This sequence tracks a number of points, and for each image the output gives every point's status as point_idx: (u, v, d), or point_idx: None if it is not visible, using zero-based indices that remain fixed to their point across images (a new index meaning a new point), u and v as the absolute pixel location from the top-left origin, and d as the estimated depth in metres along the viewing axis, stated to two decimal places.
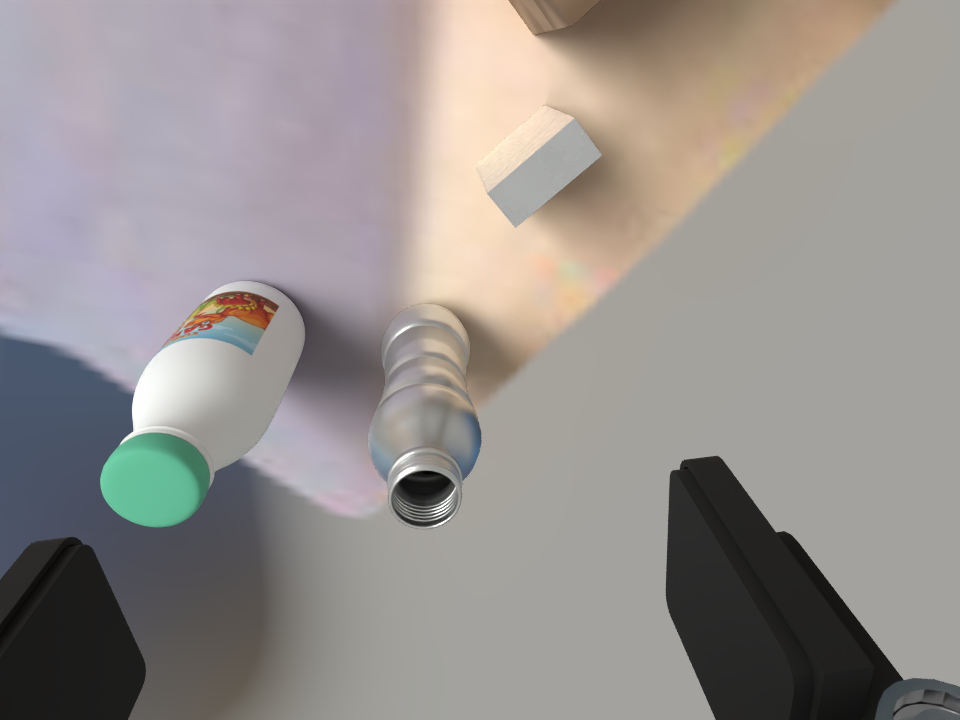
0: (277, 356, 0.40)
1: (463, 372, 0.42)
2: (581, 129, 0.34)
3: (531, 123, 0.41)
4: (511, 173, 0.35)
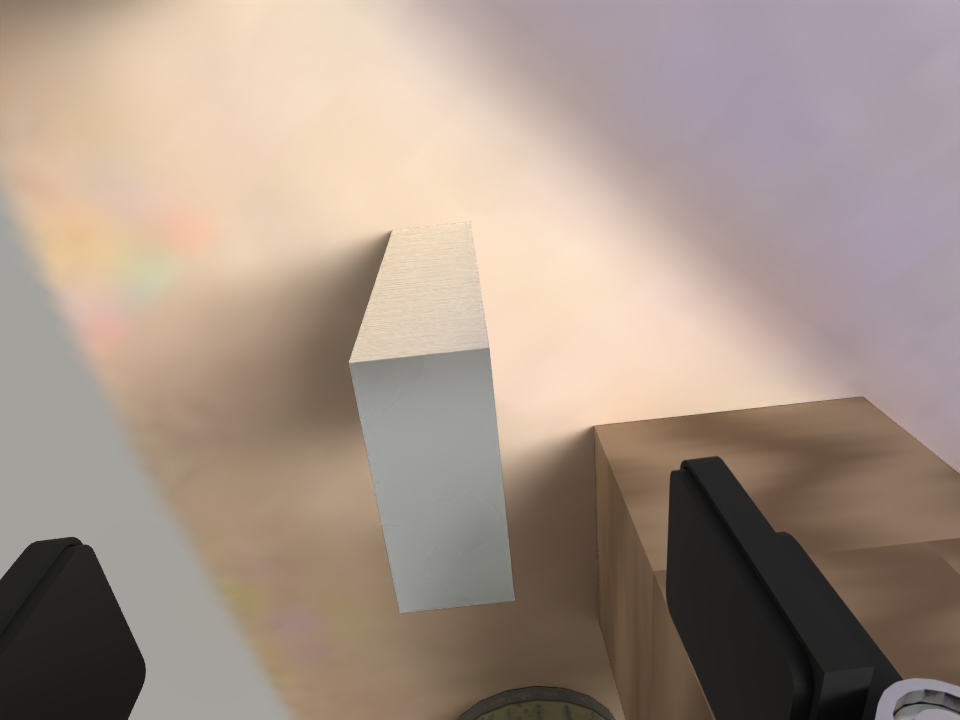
0: None
1: None
2: (482, 601, 0.14)
3: None
4: (493, 427, 0.12)
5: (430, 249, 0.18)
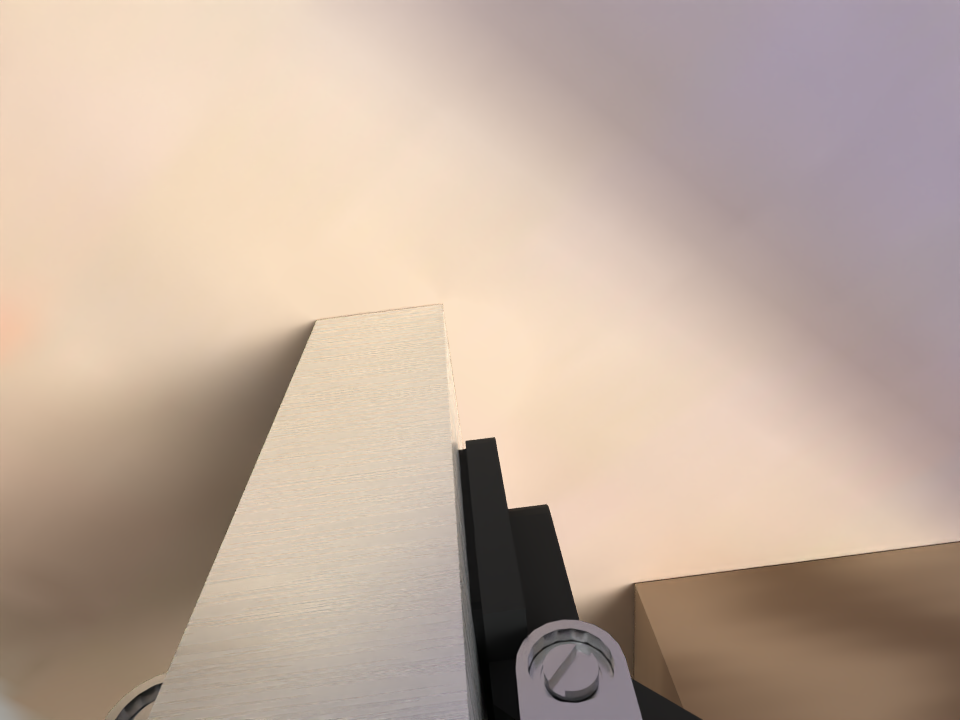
0: None
1: None
2: None
3: None
4: None
5: (369, 376, 0.10)
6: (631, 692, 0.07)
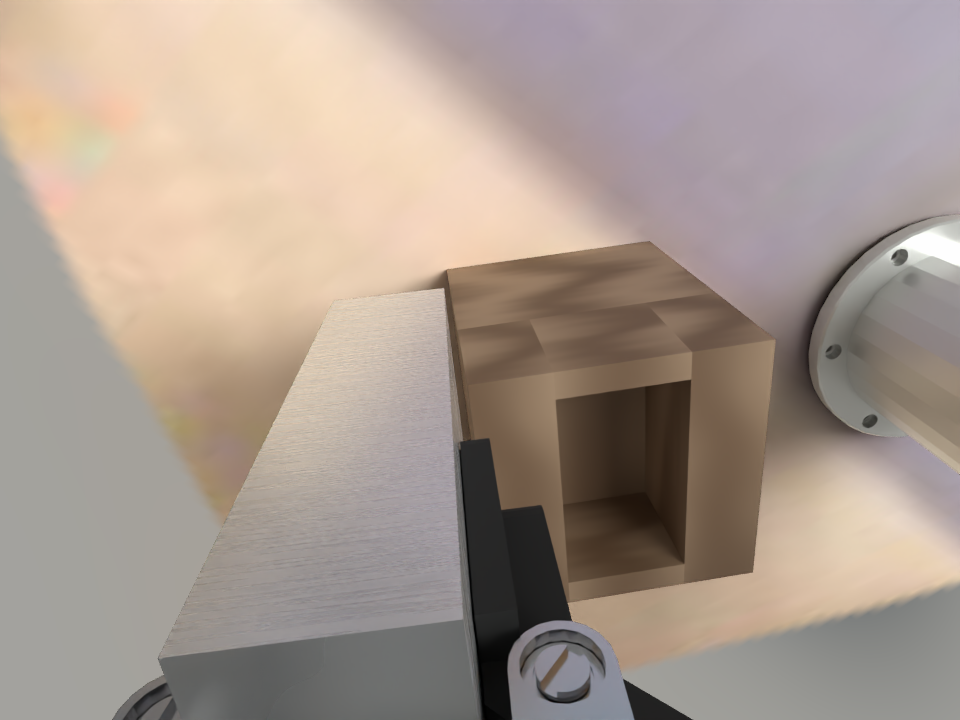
0: None
1: None
2: None
3: None
4: None
5: (380, 338, 0.12)
6: (623, 692, 0.07)
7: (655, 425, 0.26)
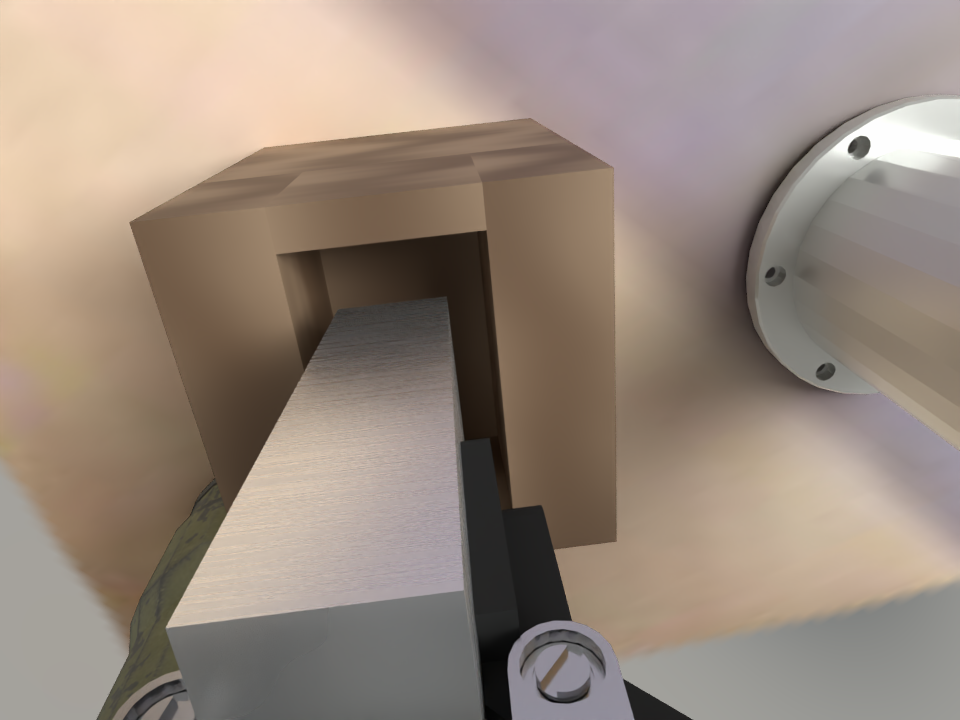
0: None
1: None
2: None
3: None
4: None
5: (384, 342, 0.12)
6: (623, 692, 0.07)
7: (489, 333, 0.18)
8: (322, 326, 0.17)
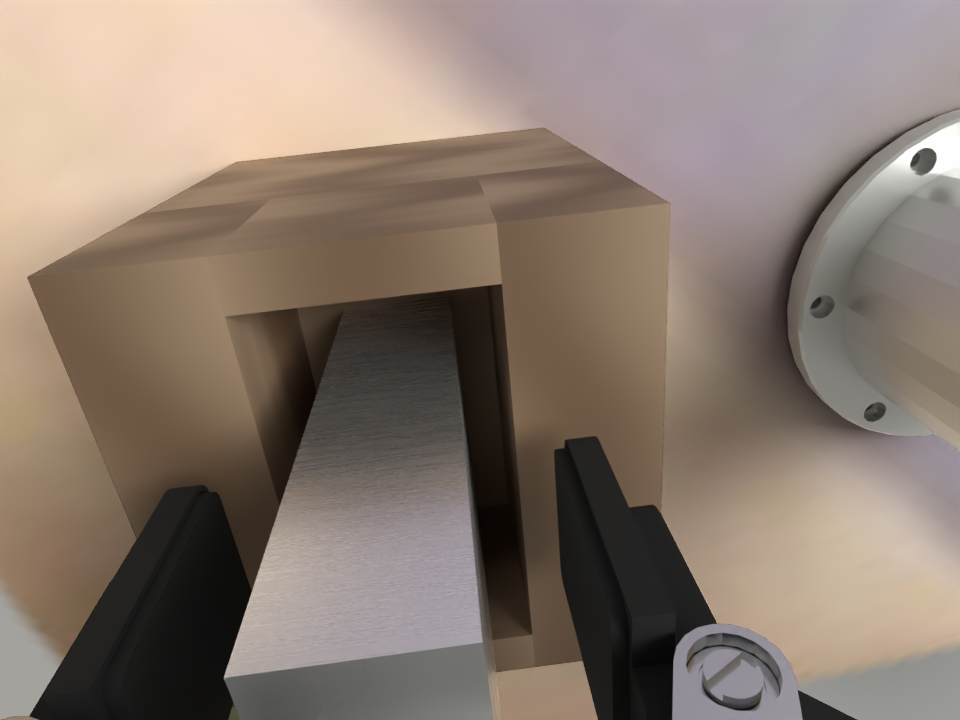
0: None
1: None
2: None
3: None
4: None
5: (392, 353, 0.13)
6: (798, 715, 0.06)
7: (500, 393, 0.15)
8: (295, 388, 0.14)
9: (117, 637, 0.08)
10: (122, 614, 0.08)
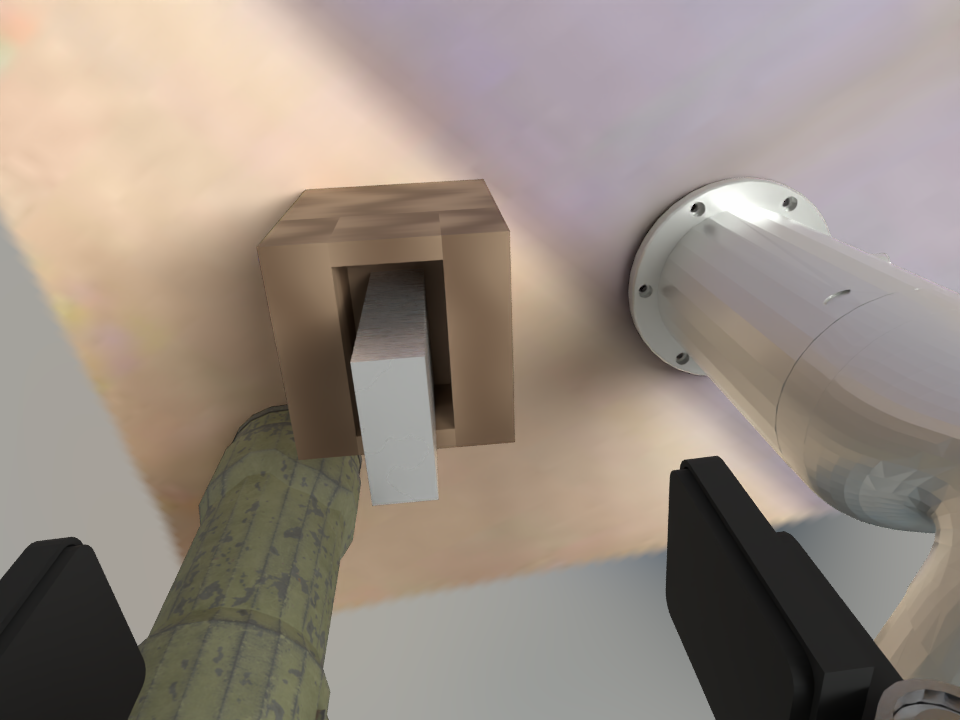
0: None
1: None
2: (419, 499, 0.24)
3: None
4: (426, 399, 0.23)
5: (395, 290, 0.28)
6: None
7: None
8: (347, 308, 0.30)
9: None
10: None
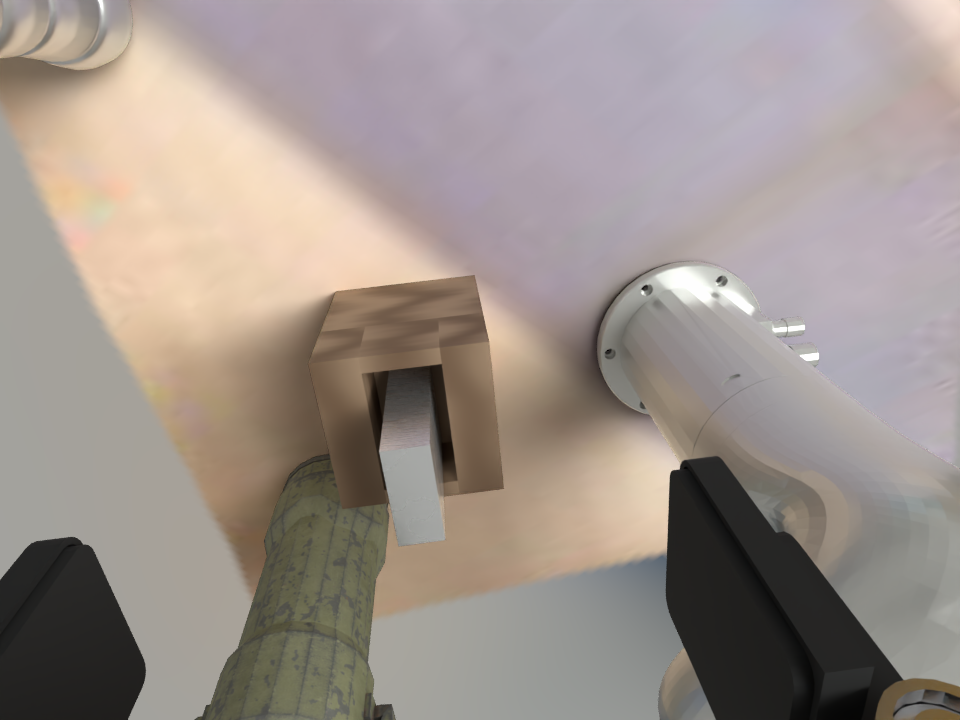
0: None
1: None
2: (432, 540, 0.34)
3: (439, 439, 0.40)
4: (433, 473, 0.32)
5: (408, 382, 0.38)
6: None
7: None
8: (373, 394, 0.40)
9: None
10: None
